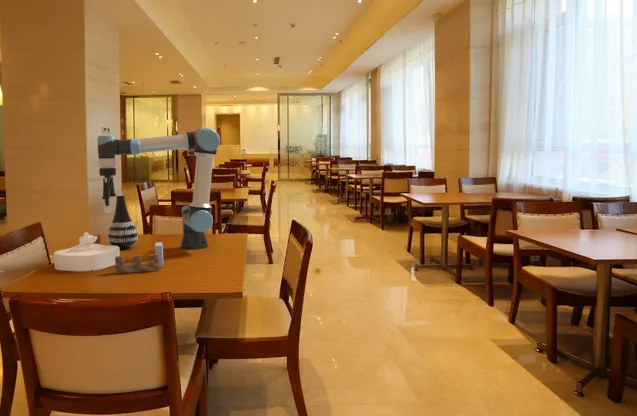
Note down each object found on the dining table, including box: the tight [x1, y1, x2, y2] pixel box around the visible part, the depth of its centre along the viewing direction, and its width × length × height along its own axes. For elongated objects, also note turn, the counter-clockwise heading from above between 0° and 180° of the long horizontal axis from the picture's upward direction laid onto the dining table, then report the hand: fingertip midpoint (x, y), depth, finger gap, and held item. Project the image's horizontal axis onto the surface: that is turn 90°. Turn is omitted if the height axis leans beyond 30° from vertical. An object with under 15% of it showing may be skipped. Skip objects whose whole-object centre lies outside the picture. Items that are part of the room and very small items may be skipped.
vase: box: [106, 194, 139, 250], centre depth 289 cm, size 16×16×30 cm
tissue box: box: [53, 231, 121, 272], centre depth 249 cm, size 25×25×16 cm
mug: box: [89, 233, 102, 245], centre depth 272 cm, size 12×9×10 cm
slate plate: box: [154, 241, 164, 268], centre depth 245 cm, size 10×3×10 cm, turn 15°
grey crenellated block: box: [114, 253, 160, 274], centre depth 234 cm, size 18×3×7 cm, turn 105°
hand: (110, 211), depth 258 cm, fingers open, 13 cm apart
